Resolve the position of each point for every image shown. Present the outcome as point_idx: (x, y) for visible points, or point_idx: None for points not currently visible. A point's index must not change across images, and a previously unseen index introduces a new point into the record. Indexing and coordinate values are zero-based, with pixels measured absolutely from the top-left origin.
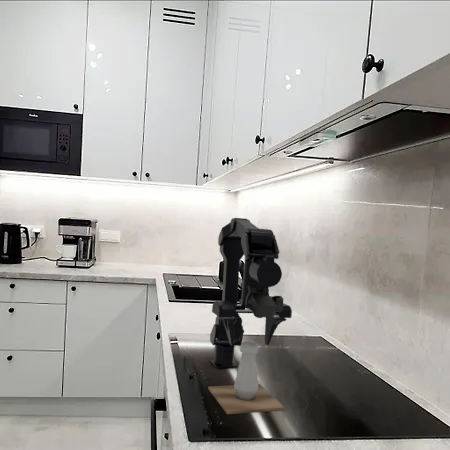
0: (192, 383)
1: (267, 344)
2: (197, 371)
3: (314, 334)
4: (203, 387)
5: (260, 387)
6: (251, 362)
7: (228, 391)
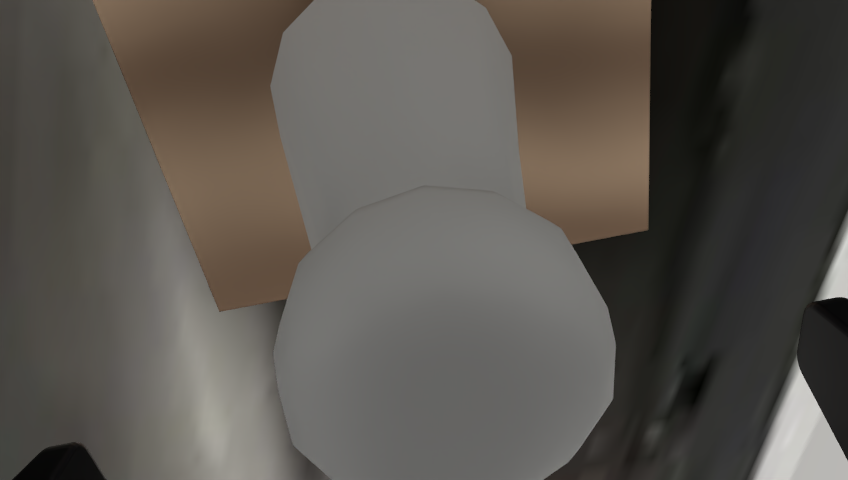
0: (722, 299)
1: (63, 450)
2: (624, 468)
3: None
4: (667, 243)
5: (219, 249)
6: (395, 143)
7: None
